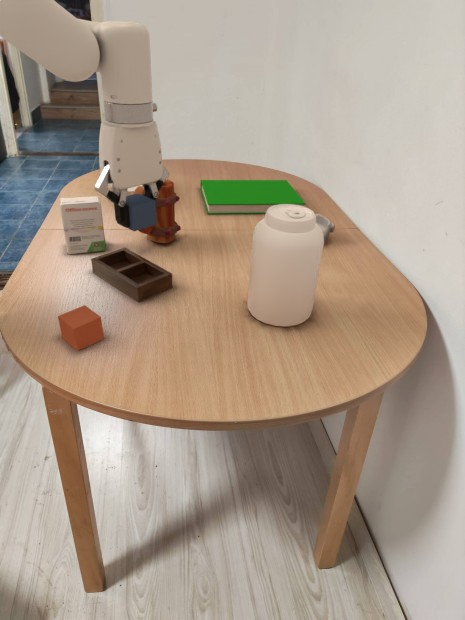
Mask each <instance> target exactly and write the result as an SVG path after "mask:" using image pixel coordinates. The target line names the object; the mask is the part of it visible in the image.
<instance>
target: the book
mask: <svg viewBox="0 0 465 620" xmlns="http://www.w3.org/2000/svg"><path fill="white" fill-rule="evenodd" d="M200 192H201V195H202V200H203V202H204V205H205V208H206V212H207V215H265V214H266V212H267V210H268V209H269V208H270V207H272V206H274V205H279V204H294V205H300V206H303V207H305V206H306V202H305V201H304V199H302V197H301V196H300V195H299V193H298V192H297V191H296V189H295V188H294V187H293V186H292V185H291V183H289V181H288V180H287V179H200Z"/></svg>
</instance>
